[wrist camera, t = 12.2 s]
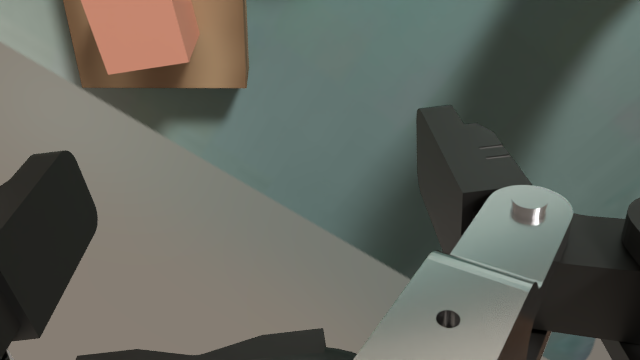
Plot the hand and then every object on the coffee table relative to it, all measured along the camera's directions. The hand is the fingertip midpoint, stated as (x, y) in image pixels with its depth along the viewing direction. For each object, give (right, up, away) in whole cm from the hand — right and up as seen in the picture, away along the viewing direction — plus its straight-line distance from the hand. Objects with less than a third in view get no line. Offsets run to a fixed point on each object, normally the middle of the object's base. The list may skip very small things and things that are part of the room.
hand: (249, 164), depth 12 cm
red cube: (-10, +12, +23) cm, 28 cm away
